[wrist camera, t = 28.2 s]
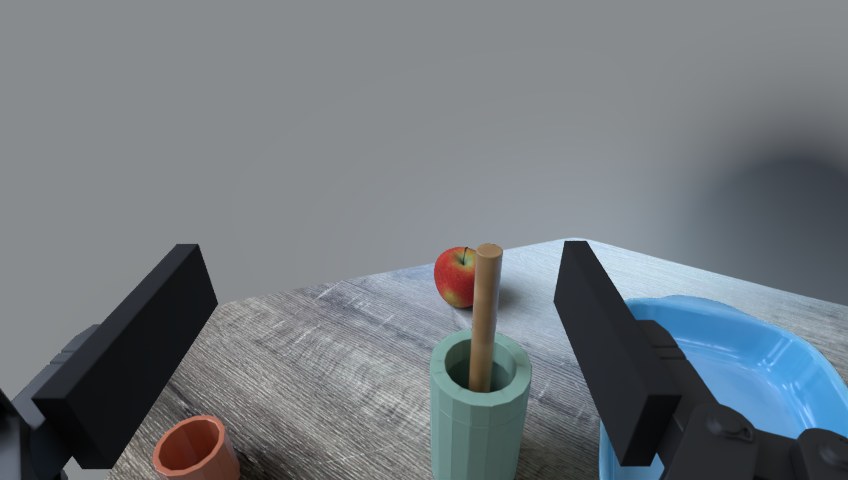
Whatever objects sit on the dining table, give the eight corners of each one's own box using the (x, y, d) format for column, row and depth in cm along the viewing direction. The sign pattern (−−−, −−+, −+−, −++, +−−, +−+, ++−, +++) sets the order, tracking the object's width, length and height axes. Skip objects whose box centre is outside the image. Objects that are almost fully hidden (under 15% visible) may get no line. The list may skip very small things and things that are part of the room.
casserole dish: (1001, 839, 23) (1107, 818, 20) (575, 645, 30) (594, 603, 27) (786, 361, 53) (813, 317, 49) (595, 319, 60) (606, 277, 56)
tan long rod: (448, 462, 41) (453, 253, 29) (467, 435, 44) (479, 231, 31) (481, 484, 39) (501, 270, 27) (499, 453, 42) (525, 246, 30)
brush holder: (162, 489, 40) (139, 451, 37) (219, 442, 44) (202, 404, 41) (195, 528, 37) (173, 490, 34) (253, 473, 42) (238, 435, 38)
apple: (471, 279, 68) (474, 225, 63) (498, 309, 62) (504, 251, 57) (425, 292, 66) (424, 236, 60) (448, 325, 59) (449, 266, 54)
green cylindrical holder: (414, 474, 41) (409, 373, 34) (459, 413, 47) (463, 316, 40) (490, 527, 37) (503, 425, 30) (529, 453, 43) (547, 353, 36)
